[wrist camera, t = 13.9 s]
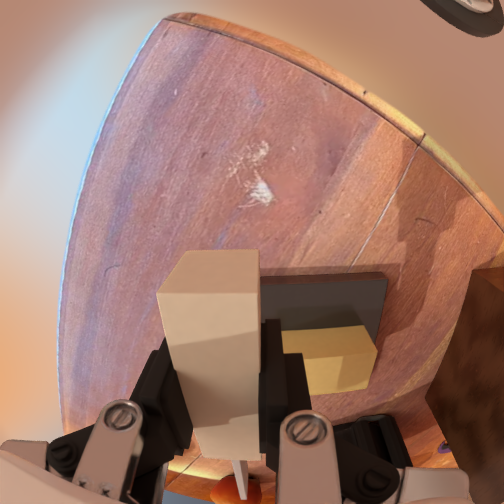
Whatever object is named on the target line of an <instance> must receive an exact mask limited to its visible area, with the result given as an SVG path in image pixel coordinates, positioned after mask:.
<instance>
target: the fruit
mask: <svg viewBox="0 0 504 504" xmlns="http://www.w3.org/2000/svg"><path fill="white" fill-rule="evenodd" d="M210 497H211V499H212V500H213V501H214V502H215V503H216V504H260V502H261V499H262V493H261V488H260V483H259V478H258V479H248V489H247V500H241V498H240V494H239V490H238V486H237V482H236V478H235V476H226V477H224V478H222V479H221V480H220V481H219V482H218V483H217V484H216V485H215V486H214V488H213V489H212V490H211V492H210Z"/></svg>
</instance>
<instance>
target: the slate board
mask: <svg viewBox="0 0 504 504" xmlns="http://www.w3.org/2000/svg"><path fill="white" fill-rule="evenodd" d="M387 284H388V278H387V277H386V276H385V275H384V274H383V273H382V272H367V273H347V274H324V275H298V276H266V277H260V298H261V323H265V319H280V322H281V331H292V330H311V329H326V328H339V327H350V326H360V325H364V327H365V329H366V330H367V332H368V334H369V336H370V338H371V340H372V342H373V343H374V345H375V341H376V337H377V333H378V328H379V324H380V320H381V315H382V310H383V306H384V300H385V295H386V290H387Z"/></svg>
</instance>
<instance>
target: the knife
mask: <svg viewBox="0 0 504 504" xmlns="http://www.w3.org/2000/svg"><path fill="white" fill-rule="evenodd" d="M444 442H445V441H444ZM444 442H443V443H442V444H441V446H440V447H439V449H438V452H439V453H448V452H451V449H450V447H449V445H444Z"/></svg>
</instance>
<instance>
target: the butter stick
mask: <svg viewBox="0 0 504 504" xmlns="http://www.w3.org/2000/svg"><path fill="white" fill-rule="evenodd" d="M281 332H282V342H283V352H284V353H302V354H303V359H304V365H305V370H306V376H307V382H308V388H309V394H310V395H320V394H330V393H338V392H346V391H353V390H360V389H366V388H367V385H368V382H369V379H370V376H371V373H372V370H373V367H374V363H375V360H376V356H377V353H378V351H377V349H376V347H375V345H374V343H373V342H372V340H371V338H370V336H369V334H368V332H367V330H366V329H365V327H364V325H360V326H350V327H339V328H326V329H311V330H292V331H281Z"/></svg>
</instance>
